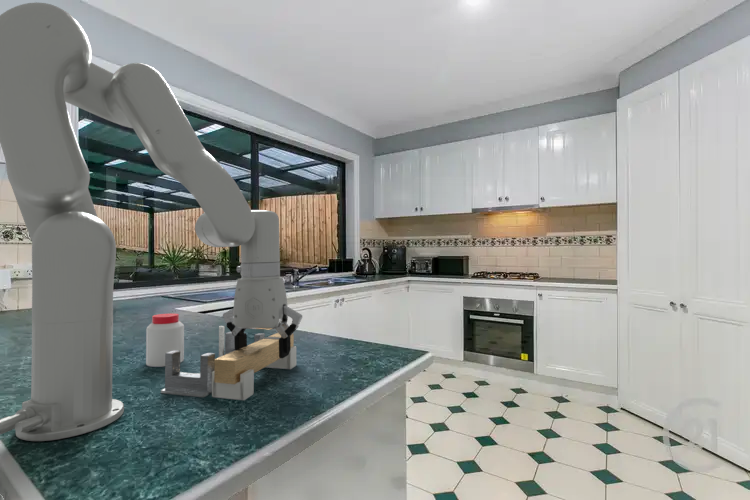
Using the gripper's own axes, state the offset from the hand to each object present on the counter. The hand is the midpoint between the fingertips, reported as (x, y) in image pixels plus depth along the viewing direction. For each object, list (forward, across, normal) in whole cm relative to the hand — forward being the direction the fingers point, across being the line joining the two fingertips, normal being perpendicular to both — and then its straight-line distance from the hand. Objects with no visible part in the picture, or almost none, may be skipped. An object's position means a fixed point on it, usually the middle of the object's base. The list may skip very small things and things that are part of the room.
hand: (262, 355), depth 76 cm
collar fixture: (+5, -9, -1) cm, 10 cm away
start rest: (+5, 0, -1) cm, 5 cm away
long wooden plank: (+2, 0, -1) cm, 2 cm away
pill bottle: (+5, -28, +5) cm, 29 cm away
